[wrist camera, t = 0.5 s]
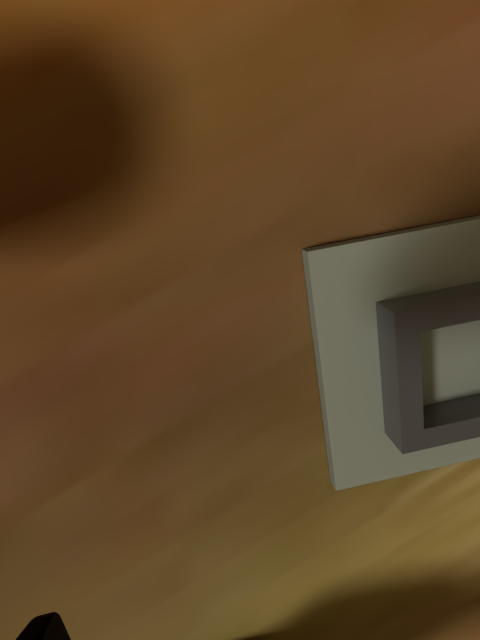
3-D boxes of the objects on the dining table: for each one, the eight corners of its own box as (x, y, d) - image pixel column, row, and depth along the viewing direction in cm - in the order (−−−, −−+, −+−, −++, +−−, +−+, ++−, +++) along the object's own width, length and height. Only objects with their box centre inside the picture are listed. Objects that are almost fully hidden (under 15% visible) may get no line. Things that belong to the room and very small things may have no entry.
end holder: (547, 430, 25) (592, 459, 22) (330, 479, 24) (348, 516, 22) (563, 199, 21) (622, 199, 18) (301, 249, 20) (319, 257, 17)
